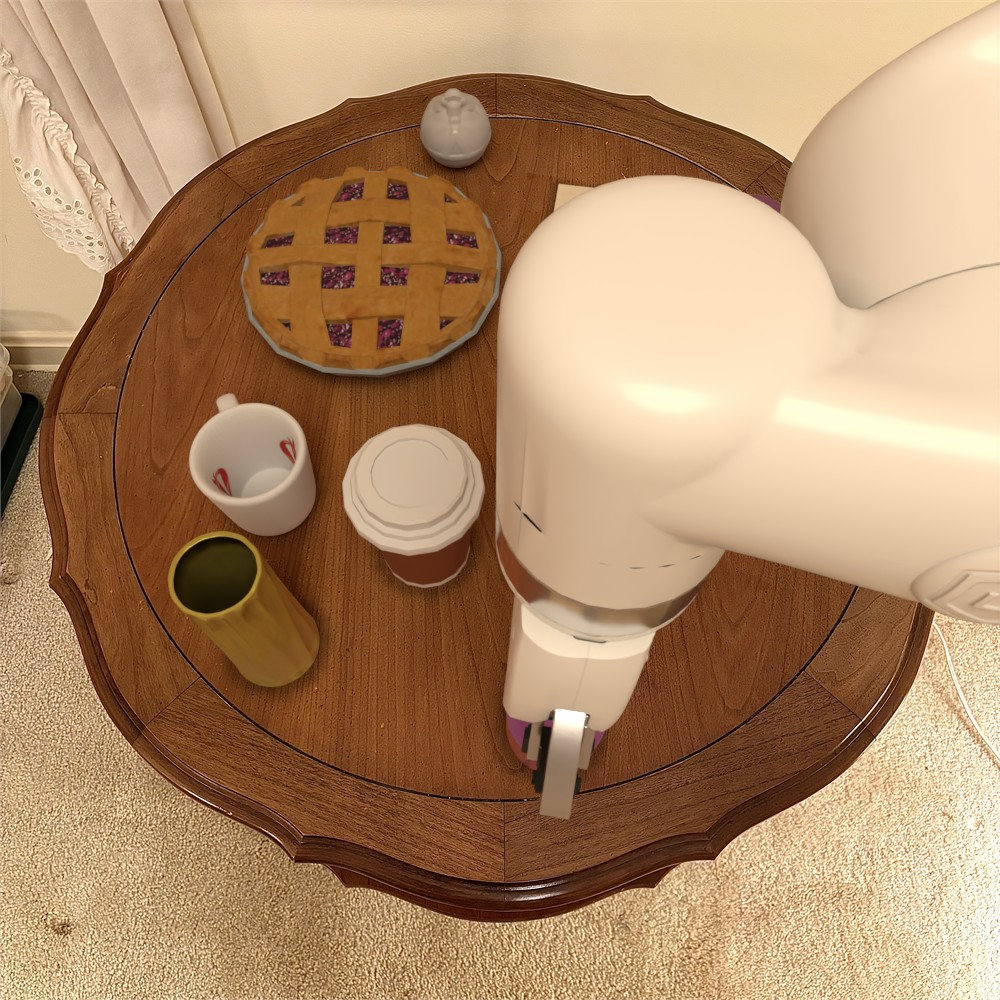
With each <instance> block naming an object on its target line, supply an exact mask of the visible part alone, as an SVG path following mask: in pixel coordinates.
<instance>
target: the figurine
mask: <svg viewBox="0 0 1000 1000" xmlns="http://www.w3.org/2000/svg"><path fill="white" fill-rule="evenodd" d="M419 138H420V140H421V143H422V145H423V147H424V148H425V150H426V151H427V152H428V155H429V156H430V157H431V158H432V159H433V160H434V161H435V162H436V163H438V164H439V165H442V166H444V167H447V168H451V169H460V168H461V169H462V168H466V167H469V166H471V165H472V164H475V163H476V162H477V161H478V160H480V158H482V156H483V155H484V153H485V152H486V150H487V148H488V145H489V144H490V142H491V138H492V127H491V121H490V117H489V115H488V112H487V111H486V109H485V108H484V105H483V104H482V102H481V101H480V100H479V98H477V97H476V96H475V95H472V94H470V93H466V92H463V91H461V90H459V89H458V88H454V87H453V88H449V89H447V90H446V91H445V92H444V93H441V94H439V95H436V96H434V97H433V98H431V100H430V101H429V102H428V104H427V106H426V107H425V109H424V112H423V114H422V117H421V121H420V129H419Z"/></svg>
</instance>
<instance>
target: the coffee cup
mask: <svg viewBox="0 0 1000 1000" xmlns="http://www.w3.org/2000/svg"><path fill="white" fill-rule="evenodd" d="M341 489H342V498H343V499H342V500H343V509H344V512H345V514H346V515H347V517H348V519H349V520H350V523H351V524H352V526H353V528H354V529H355V531H356V532H357V534H358V535H359V536H360V537H361V538H363V539H365V540H366V541H367V542H368V543H370V544H372V545H373V546H374V547H376V548H377V549H378V550H379V552H380V553H381V555H382V557H383V559H384V561H385V563H386V565H387V566H388V568H389V570H390V571H391V573H392V575H393V576H394V577H396V578H397V579H399V580H400V581H401V582H403V583H405V584H406V585H409V586H413V587H417V588H422V589H426V588H433V587H439V586H442V585H444V584H446V583H448V582H449V581H451V580H452V579H454V578H456V577H457V576H458V575H459V573H460V572H461V571H462V570H463V568H464V567H465V566H466V565H467V561H468V558H469V553H470V551H471V538H472V537H471V536H472V528H473V524H474V523H475V522H476V520H477V519H478V518H479V516H480V512H481V508H482V505H483V501H484V497H485V494H486V485H485V480H484V473H483V469H482V464H481V462H480V460H479V458H478V457H477V455H475V453H474V451H473V450H472V449H471V447H470V446H469V445H468V442H466V441H465V440H463V439H461V438H459V437H458V436H457V435H455V434H453V433H451V432H450V431H449V430H447V429H445V428H443V427H437V426H433V425H427V424H423V423H414V424H407V425H406V424H405V425H400V426H393V427H390V428H388V429H386V430H384V431H382V432H380V433H379V434H377V435H374V436H373V437H371V438H369V439H367V441H365V442H364V443H363V445H362V446H361V447H360V448H359V449H358V450H357V452H355V454H354V455H353V456H352V457H351V458H350V460H349V463H348V466H347V468H346V471H345V474H344V477H343V480H342V483H341Z"/></svg>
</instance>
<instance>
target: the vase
mask: <svg viewBox="0 0 1000 1000" xmlns="http://www.w3.org/2000/svg"><path fill="white" fill-rule="evenodd" d="M167 586H168V591H169V596H170V598H171V600H172V601H173V603H174V604H175V605H176V606H177V608H178V609H179V611H181V612H182V613H183V614H184V616H186V618H188V619H189V620H190V621H192V622H193V624H195V625H196V626H197V627H198V628H199V629H200V630H202V632H203V633H204V634H205V636H207V637H208V638H209V639H210V640H211V642H213V644H215V646H216V647H218V649H220V650H221V651H222V652H223V653H224V654H225V656H226V657H227V658H228V659H229V660H230V661H231V663H232V664H233V665H234V667H236V669H237V670H238V672H239V673H240V675H242V677H244V679H246V680H247V681H249V682H250V683H253V684H254V685H256V686H260V687H265V688H278V687H282V686H286V685H288V684H291V683H293V682H295V681H296V680H298V679H299V678H301V677H302V676H304V675H305V674H306V673H307V671H309V670H310V668H311V667H312V665H314V662H315V661H316V658H317V656H318V653H319V649H320V643H321V640H320V639H321V637H320V632H319V629H318V625H317V623H316V620H315V618H314V617H313V616H312V615H311V614H310V613H309V612H308V611H307V610H306V609H305V608H304V607H303V605H302V604H301V603H300V602H299V601H298V599H296V597H295V596H294V595H293V594H292V592H290V590H289V589H288V588H287V586H286V585H285V584H284V583H283V582H282V580H281V579H280V577H278V575H277V574H276V572H275V571H274V569H273V568H272V567H271V565H270V563H269V562H268V561H267V560H266V558H265V557H264V556H263V554H262V552H261V551H260V550H259V549H258V548H257V547H256V546H255V545H254V544H253V543H252V542H251V541H250V540H249V539H248V538H247V537H245V536H244V535H242V534H239V533H236V532H232V531H226V530H218V531H217V530H216V531H210V532H207V533H203V534H200V535H198V536H197V537H194V538H193V539H191V540H189V541H188V542H187V543H186V544H184V545H183V547H181V548H180V550H179V551H178V552H177V553H176V554H175V556H174V557H173V559H172V560H171V563H170V567H169V570H168V574H167Z"/></svg>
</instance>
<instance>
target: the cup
mask: <svg viewBox="0 0 1000 1000" xmlns="http://www.w3.org/2000/svg"><path fill="white" fill-rule="evenodd" d="M215 403H216V407H217V409H218V413H217V414H215V415H213V416H212V417H211V418H210V419H208V420H207V421H206V422H205V423H204V424H203V425H202V427H200V429H199V430H198V432H197V433H196V435H195V437H194V439H193V440H192V443H191V446H190V450H189V457H188V467H189V471H190V475H191V477H192V480H193V483H194V484H195V486H196V487H197V488H198V490H199V491H200V492H201V493H202V494H203V495H204V496H205V497H206V498H208V499H209V500H210V501H211V502H212V503H213V504H214V505H215V506H216V507H217V508H218V509H219V510H220V511H222V513H224V514H225V515H226V516H227V518H229V519H230V520H231V521H232V522H233V523H234V524H235V525H236V526H238V527H239V528H241V529H242V530H243V531H246V532H248V533H250V534H253V535H257V536H262V537H274V536H280V535H283V534H286V533H289V532H291V531H293V530H294V529H296V528H297V527H299V526H300V525H301V524H302V523H303V522H304V521H305V520H306V519H307V518H308V516H309V515H310V513H311V512H312V509H313V507H314V505H315V501H316V497H317V496H316V495H317V494H316V493H317V483H316V477H315V475H314V471H313V464H312V461H311V460H312V459H311V455H310V451H309V447H308V442H307V438H306V434H305V432H304V430H303V428H302V427H301V425H300V423H299V422H298V421H297V420H296V418H294V416H292V415H291V414H290V413H288V412H287V411H286V410H284V409H282V408H280V407H278V406H276V405H272V404H269V403H263V402H262V403H261V402H248V403H247V402H246V403H241V404H240V402H239V400H238V398H237V397H236V395H235V394H234V393H229V392H228V393H226V394H222V395H221V396H219V397H217V399H216V402H215Z"/></svg>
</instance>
